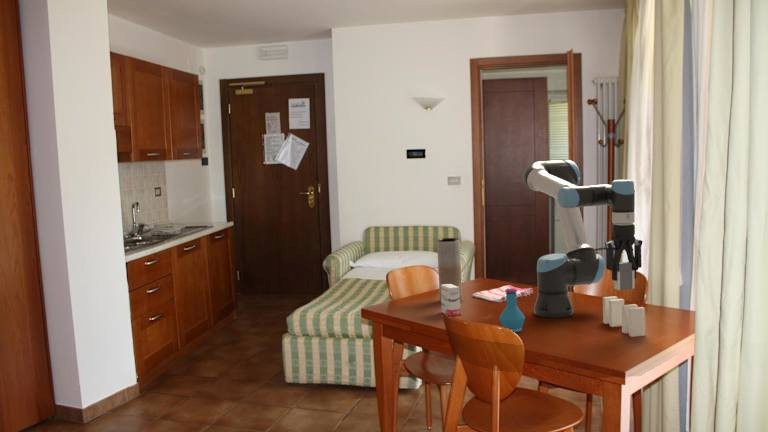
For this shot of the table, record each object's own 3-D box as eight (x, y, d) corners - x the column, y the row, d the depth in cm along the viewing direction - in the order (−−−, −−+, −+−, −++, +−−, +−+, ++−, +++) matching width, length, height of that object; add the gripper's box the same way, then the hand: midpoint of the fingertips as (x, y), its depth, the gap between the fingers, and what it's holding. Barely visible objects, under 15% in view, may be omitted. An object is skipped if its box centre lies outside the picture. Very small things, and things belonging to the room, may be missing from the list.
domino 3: (638, 332, 227) (637, 305, 226) (624, 333, 226) (624, 306, 225) (635, 330, 229) (634, 304, 228) (622, 332, 228) (621, 305, 227)
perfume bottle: (520, 334, 232) (518, 292, 231) (496, 331, 237) (494, 291, 236) (528, 327, 240) (527, 287, 239) (505, 325, 245) (503, 286, 244)
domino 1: (624, 325, 236) (624, 299, 235) (611, 326, 235) (611, 300, 234) (622, 324, 238) (621, 298, 237) (609, 325, 237) (608, 299, 236)
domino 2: (616, 289, 231) (616, 262, 231) (629, 288, 232) (628, 261, 231) (619, 290, 230) (619, 263, 229) (632, 289, 231) (631, 262, 230)
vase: (449, 298, 296) (446, 237, 293) (466, 300, 289) (464, 238, 286) (435, 302, 289) (432, 240, 286) (452, 305, 282) (449, 241, 279)
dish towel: (534, 295, 294) (534, 287, 294) (498, 304, 281) (498, 296, 281) (507, 290, 308) (507, 282, 308) (471, 298, 295) (470, 290, 295)
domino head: (618, 322, 240) (617, 297, 239) (605, 323, 239) (605, 298, 239) (615, 321, 242) (615, 296, 241) (603, 322, 241) (602, 297, 240)
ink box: (461, 315, 264) (460, 286, 263) (450, 316, 262) (448, 288, 261) (452, 310, 272) (450, 283, 271) (441, 312, 270) (439, 284, 269)
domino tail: (645, 335, 223) (644, 308, 222) (631, 336, 222) (631, 309, 221) (642, 334, 224) (641, 306, 223) (629, 335, 224) (628, 308, 223)
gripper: (605, 226, 223) (606, 293, 226) (652, 222, 227) (653, 288, 229) (594, 224, 231) (595, 288, 233) (640, 220, 234) (640, 284, 237)
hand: (624, 288), depth 231 cm, fingers closed on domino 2, 5 cm apart
